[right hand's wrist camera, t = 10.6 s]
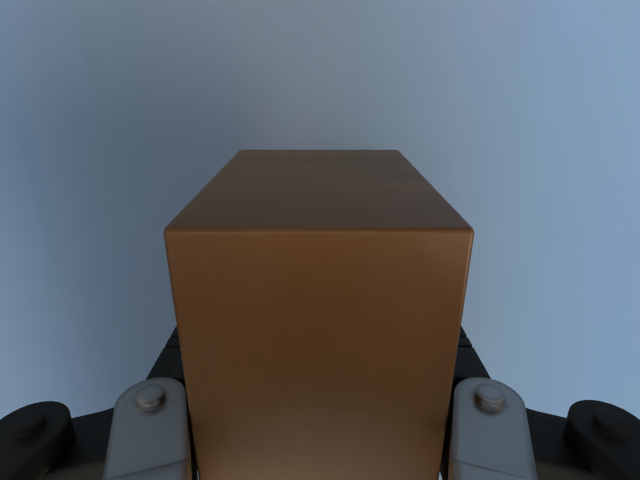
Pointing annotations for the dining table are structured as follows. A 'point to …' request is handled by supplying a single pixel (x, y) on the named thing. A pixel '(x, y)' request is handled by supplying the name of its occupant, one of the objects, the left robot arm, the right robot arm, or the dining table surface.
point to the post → (318, 316)
